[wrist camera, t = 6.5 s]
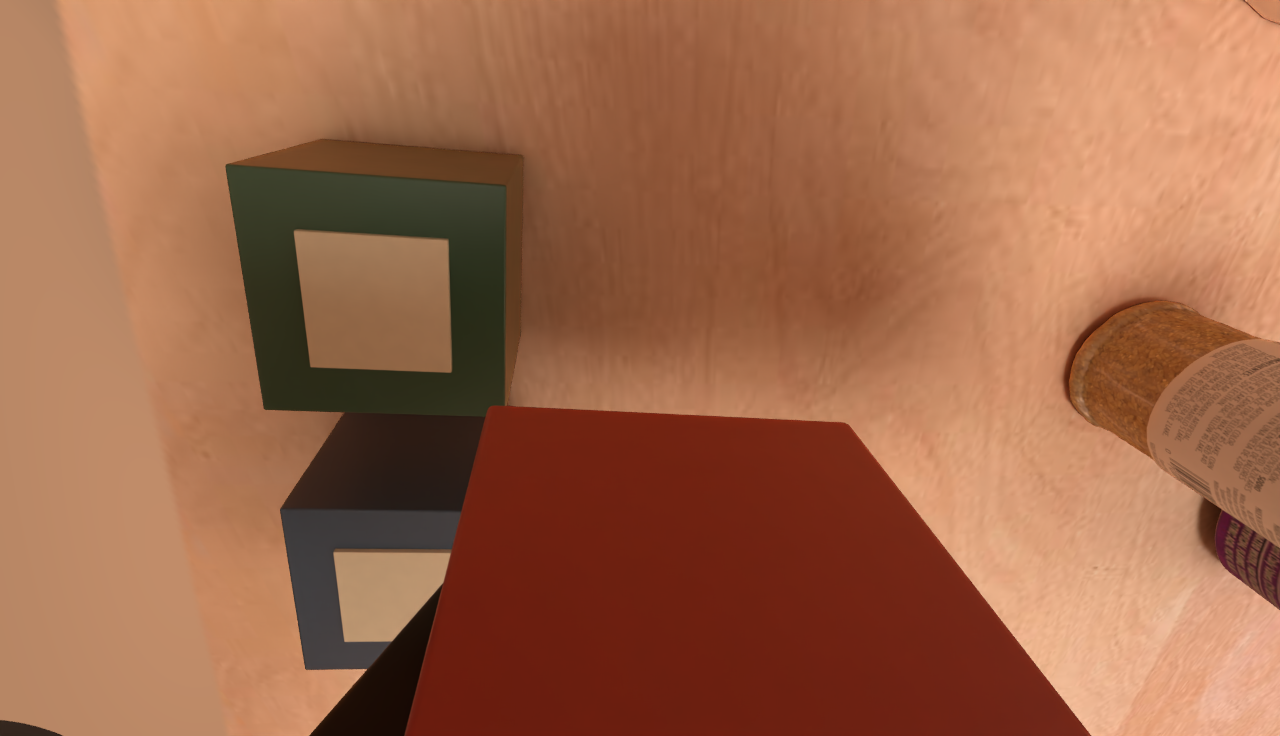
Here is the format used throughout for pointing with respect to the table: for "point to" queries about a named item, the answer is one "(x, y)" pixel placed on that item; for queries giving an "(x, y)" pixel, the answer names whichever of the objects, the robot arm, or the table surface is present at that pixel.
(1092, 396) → the sprinkles bottle
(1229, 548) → the beverage can
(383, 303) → the green block
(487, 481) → the red cube
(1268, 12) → the honey pot
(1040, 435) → the table surface
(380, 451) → the slate block
